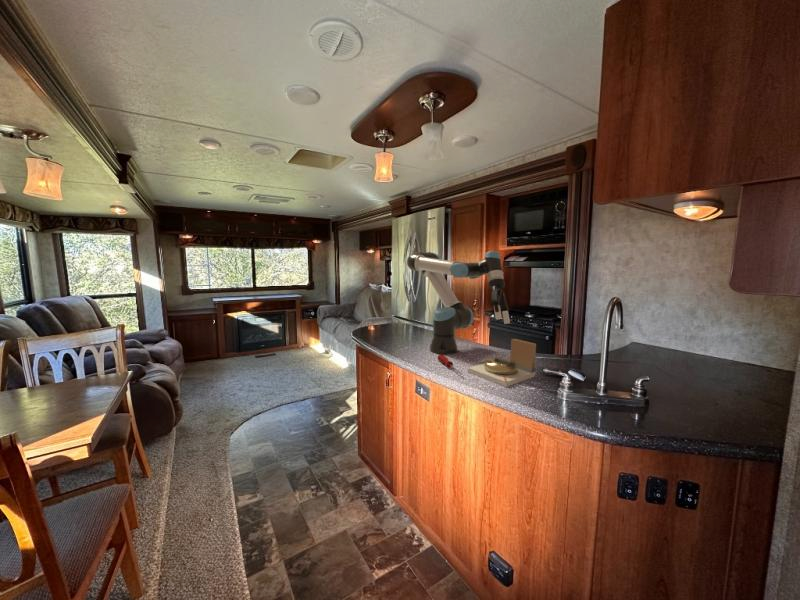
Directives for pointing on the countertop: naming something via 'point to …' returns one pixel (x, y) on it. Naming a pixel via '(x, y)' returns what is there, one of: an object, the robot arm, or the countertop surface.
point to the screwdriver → (446, 362)
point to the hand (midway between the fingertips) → (503, 321)
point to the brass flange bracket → (514, 359)
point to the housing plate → (500, 379)
